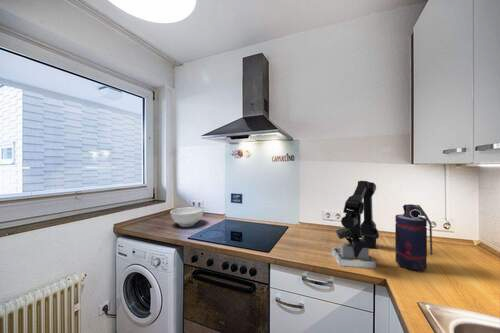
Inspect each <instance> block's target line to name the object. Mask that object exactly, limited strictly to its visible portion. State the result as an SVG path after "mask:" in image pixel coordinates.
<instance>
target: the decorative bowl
mask: <svg viewBox="0 0 500 333" xmlns="http://www.w3.org/2000/svg"><path fill="white" fill-rule="evenodd" d="M204 211H205V209H204V208H203V207H198V206H197V207H196V206H186V207H178V208H174V209H172V210H170V211H169V212H170V217H171V218H172V220H173V221H174V223H176V224H178V225H179V226H180V227H182V228H188V227H189V228H190V227H193V226H195V225H196V223H198V222H199V221H200V220H201V219H202V216H203V214H204Z"/></svg>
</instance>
